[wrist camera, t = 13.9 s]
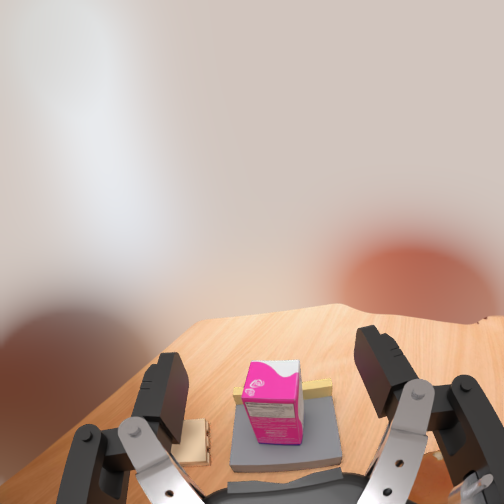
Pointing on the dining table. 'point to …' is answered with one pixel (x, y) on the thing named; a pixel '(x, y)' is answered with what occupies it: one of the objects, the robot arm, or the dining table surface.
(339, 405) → the dining table surface
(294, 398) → the supplement box
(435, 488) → the burger
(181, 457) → the block
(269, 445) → the dock
